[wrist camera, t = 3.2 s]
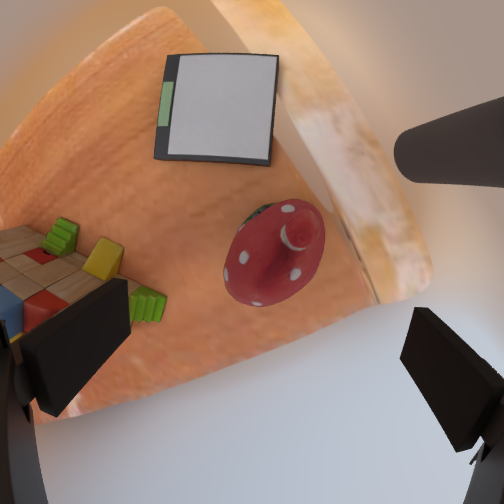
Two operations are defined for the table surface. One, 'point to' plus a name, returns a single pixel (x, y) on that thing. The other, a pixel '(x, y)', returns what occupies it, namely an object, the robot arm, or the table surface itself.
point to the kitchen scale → (217, 108)
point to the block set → (60, 277)
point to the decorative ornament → (275, 253)
